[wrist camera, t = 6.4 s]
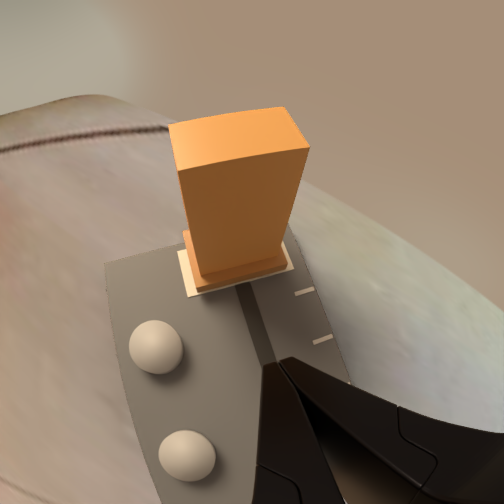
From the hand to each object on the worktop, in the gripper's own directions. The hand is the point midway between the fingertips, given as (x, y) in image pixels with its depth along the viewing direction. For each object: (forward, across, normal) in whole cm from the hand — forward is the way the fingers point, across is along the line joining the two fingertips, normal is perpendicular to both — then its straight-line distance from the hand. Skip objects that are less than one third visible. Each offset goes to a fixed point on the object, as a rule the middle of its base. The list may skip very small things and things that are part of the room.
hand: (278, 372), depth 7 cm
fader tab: (+11, -1, 0) cm, 11 cm away
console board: (+7, +1, +6) cm, 9 cm away
